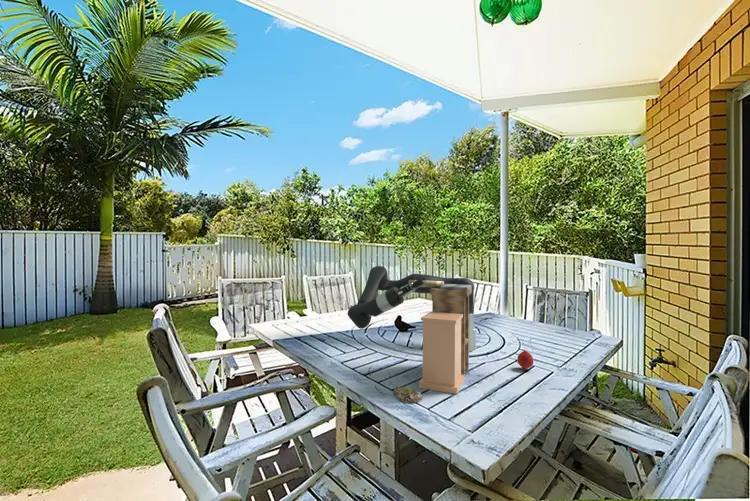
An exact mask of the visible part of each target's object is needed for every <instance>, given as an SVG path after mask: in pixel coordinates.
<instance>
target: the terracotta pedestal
mask: <svg viewBox="0 0 750 501" xmlns="http://www.w3.org/2000/svg"><path fill="white" fill-rule="evenodd" d="M462 317H463V314H454V313H441V312H432V311H429V312H428V313H426V314H424V315H422V316H421V317H420V321H421V322H422V377H421V379H420V380H419V381H418V388H419V389H424V390H432V391H436V392H441V393H449V394H455V395H458V394H459V392H460V390H461V387H462V385H463V384H464V382H465V377H464V375H461V318H462Z"/></svg>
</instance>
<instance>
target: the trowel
mask: <svg viewBox="0 0 750 501" xmlns="http://www.w3.org/2000/svg"><path fill="white" fill-rule="evenodd" d="M416 281H418V280H409V282H408V284H411V283H414V282H416ZM423 282H424V284H422V285H420V286H419V287H433V288H440V289H444V290H462V291H467V290H469V289H471V285H460V284H444V281H424V280H423Z"/></svg>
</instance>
